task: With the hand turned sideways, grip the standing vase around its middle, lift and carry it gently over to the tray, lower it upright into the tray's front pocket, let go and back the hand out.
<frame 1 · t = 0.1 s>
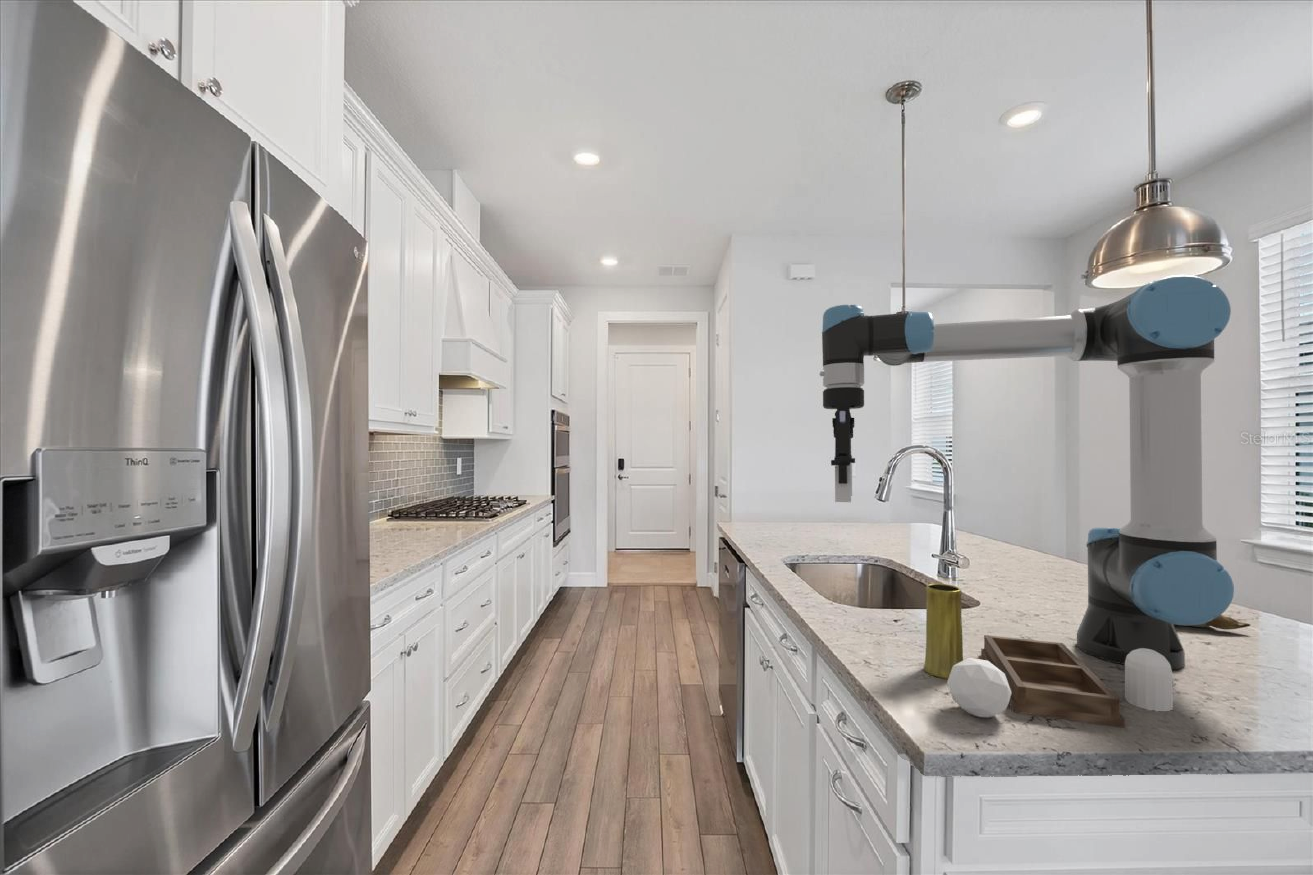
hand: (844, 498, 107), 28 cm above the countertop, fingers open, 13 cm apart
vase: (943, 673, 94), on the countertop
white dome-topped block: (1148, 704, 83), on the countertop
ball: (978, 715, 80), on the countertop
ceramic sculpture: (1191, 626, 119), on the countertop
tray: (1042, 685, 89), on the countertop
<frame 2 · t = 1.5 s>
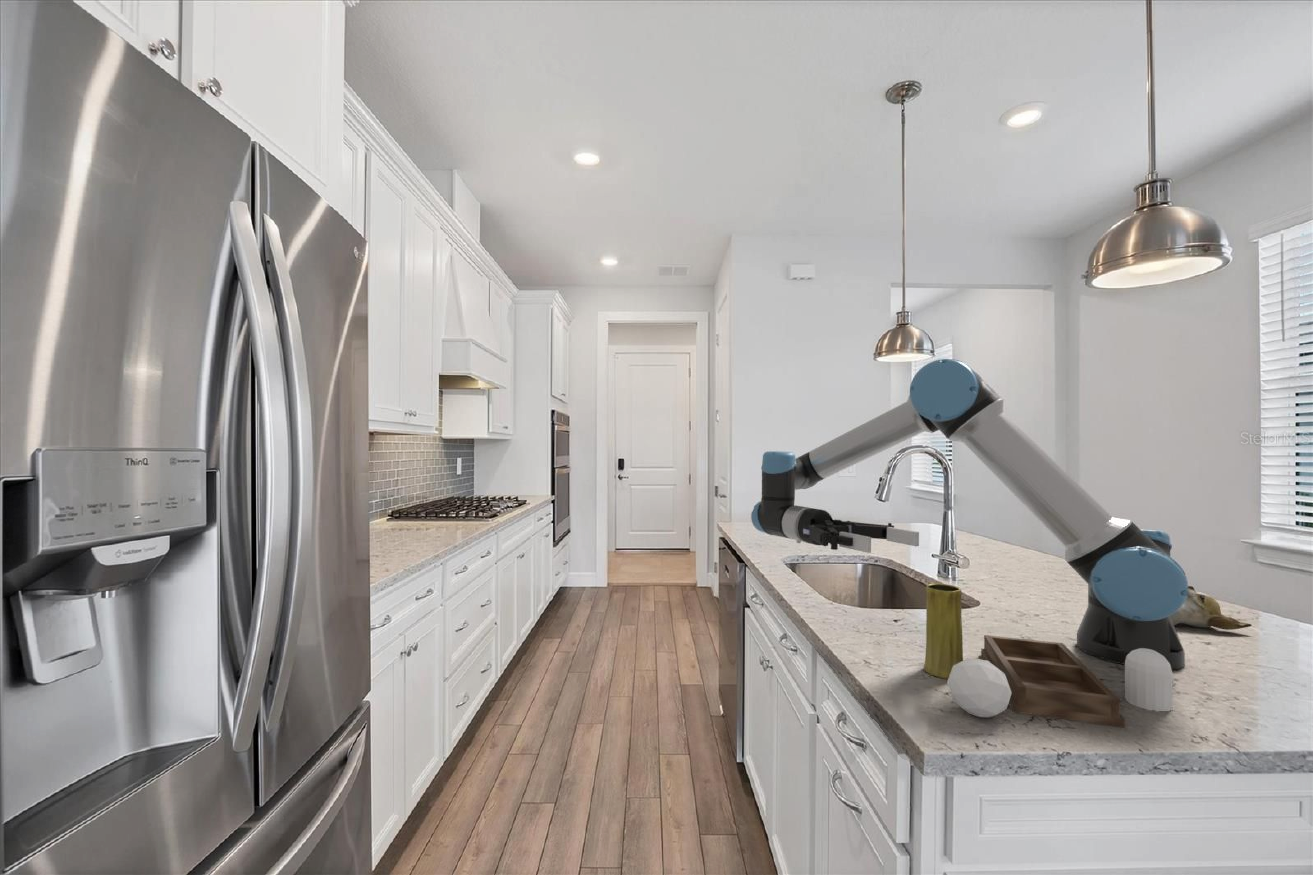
hand: (894, 542, 103), 20 cm above the countertop, fingers open, 13 cm apart
nothing on the countertop moved.
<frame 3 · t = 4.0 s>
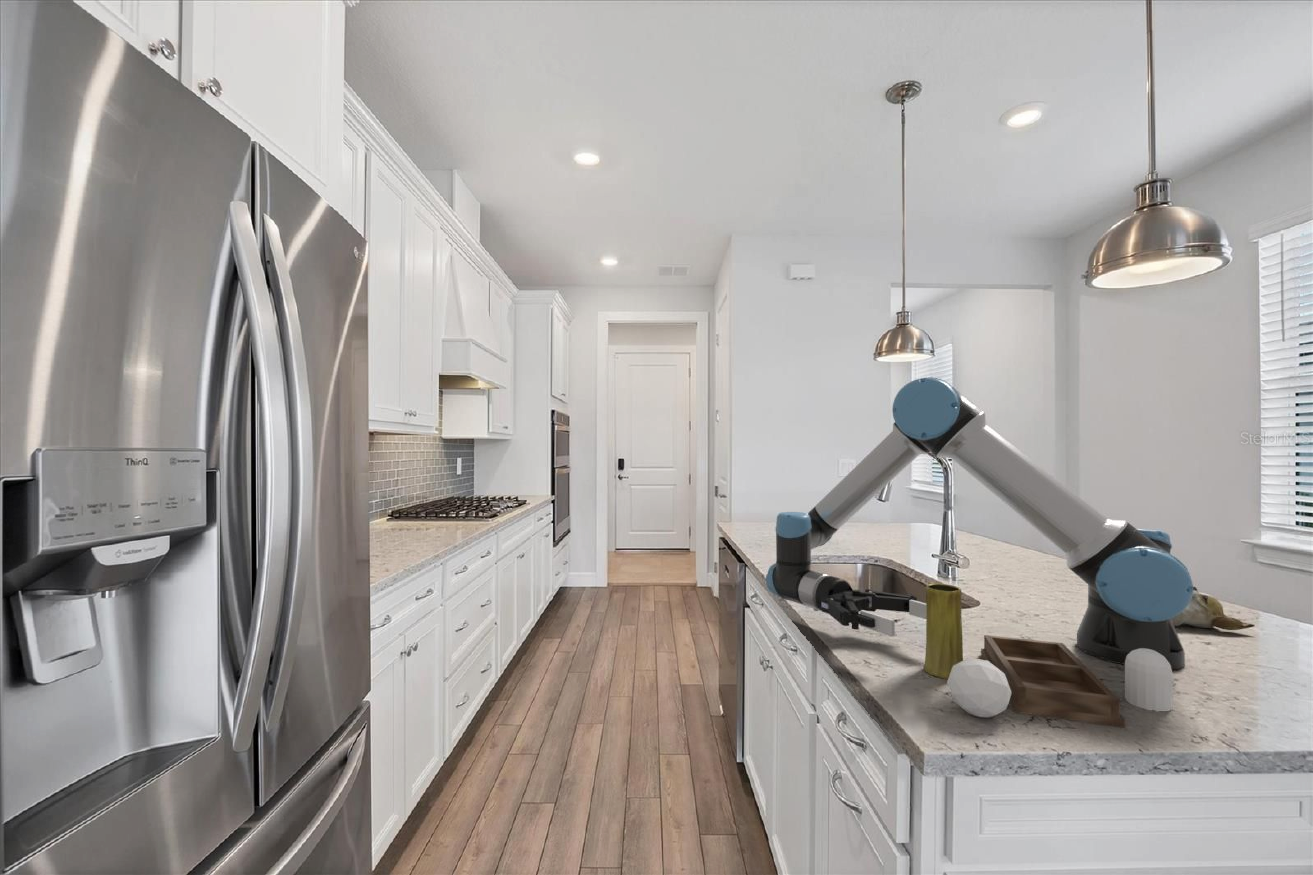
hand: (919, 622, 98), 7 cm above the countertop, fingers open, 13 cm apart
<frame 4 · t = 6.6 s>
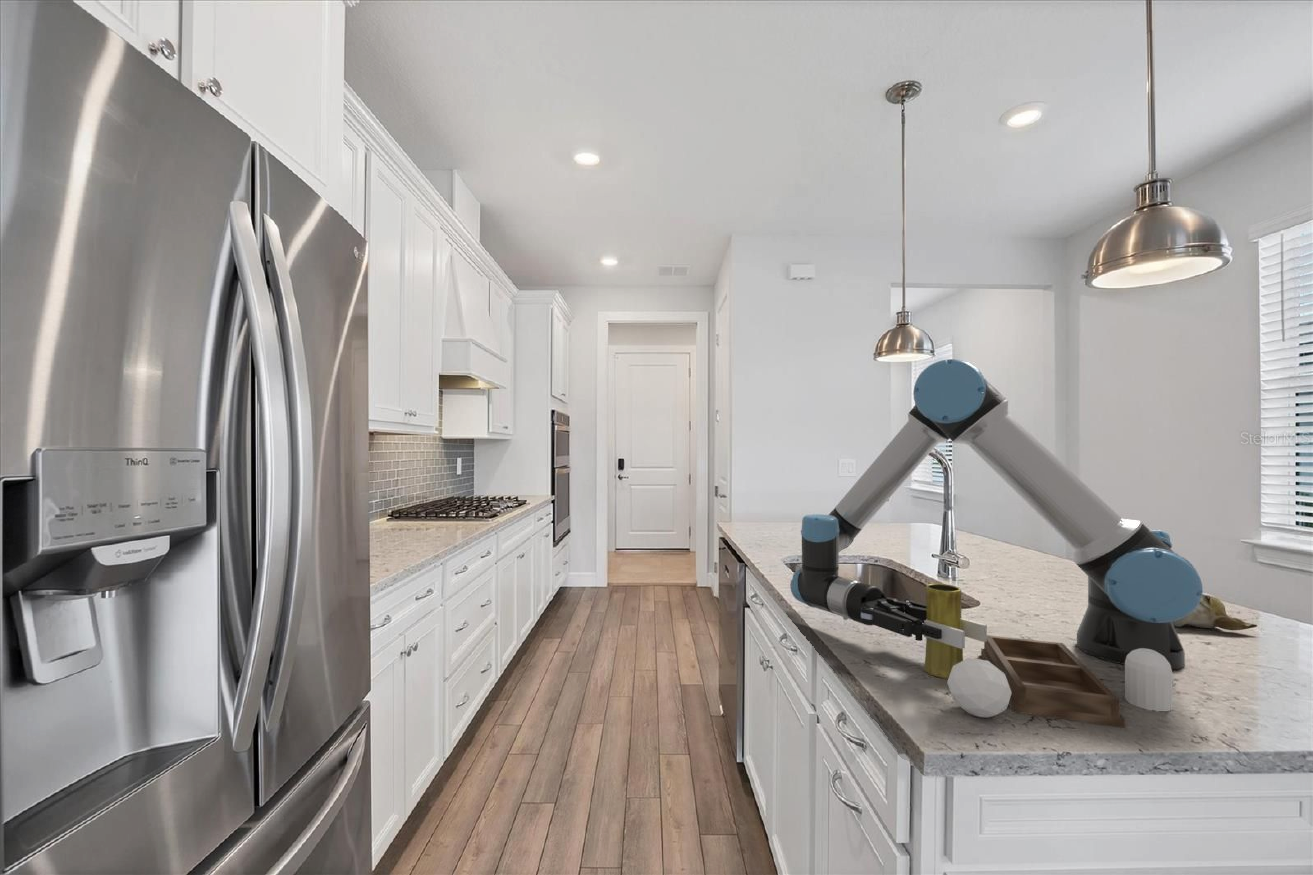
hand: (974, 636, 90), 8 cm above the countertop, fingers closed on vase, 5 cm apart
vase: (943, 673, 94), on the countertop, touching gripper
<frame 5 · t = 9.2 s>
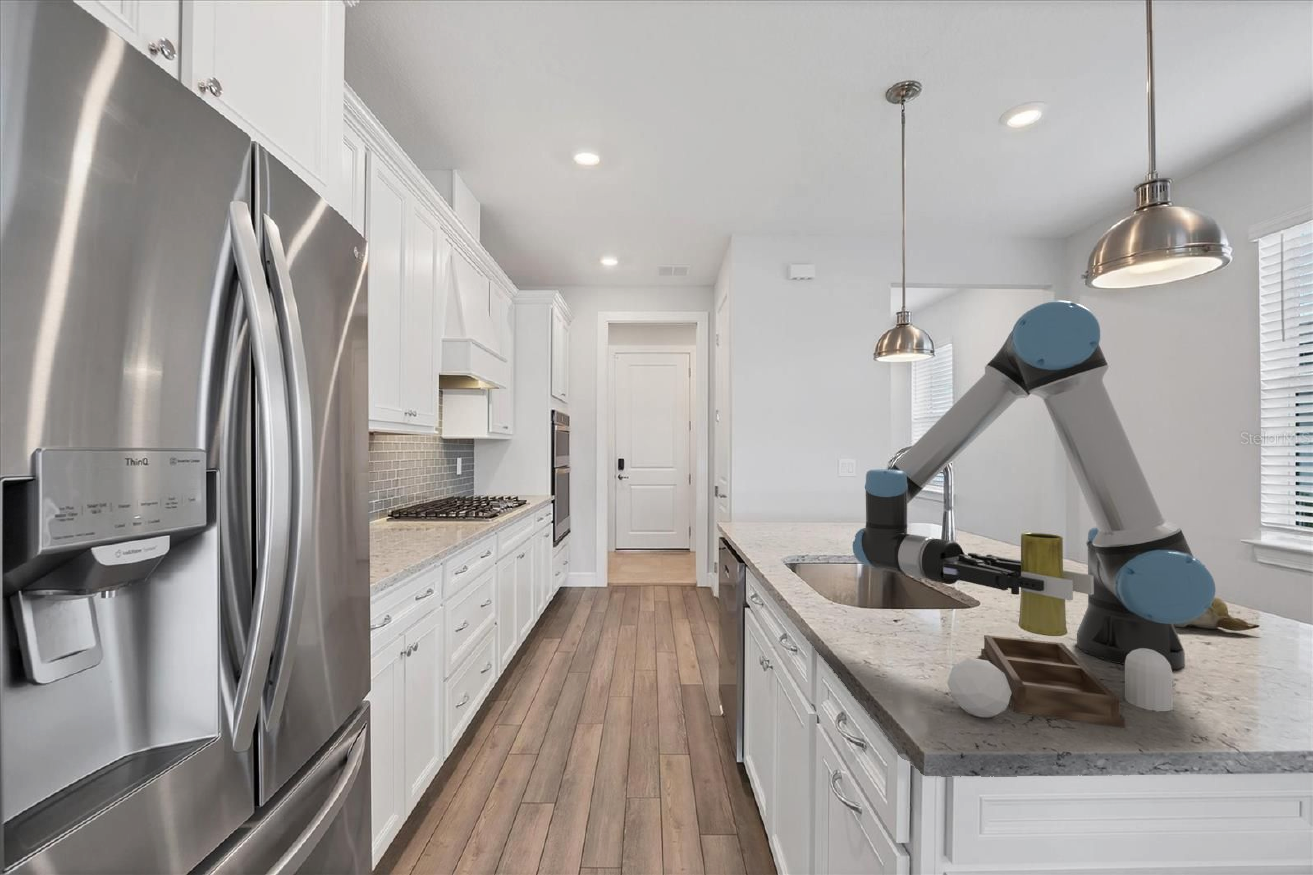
hand: (1081, 587, 80), 18 cm above the countertop, fingers closed on vase, 5 cm apart
vase: (1042, 631, 85), point 10 cm above the countertop, touching gripper
when the fingers open (10 cm above the countertop, at t = 11.9 s): vase drops 1 cm, resting on tray.
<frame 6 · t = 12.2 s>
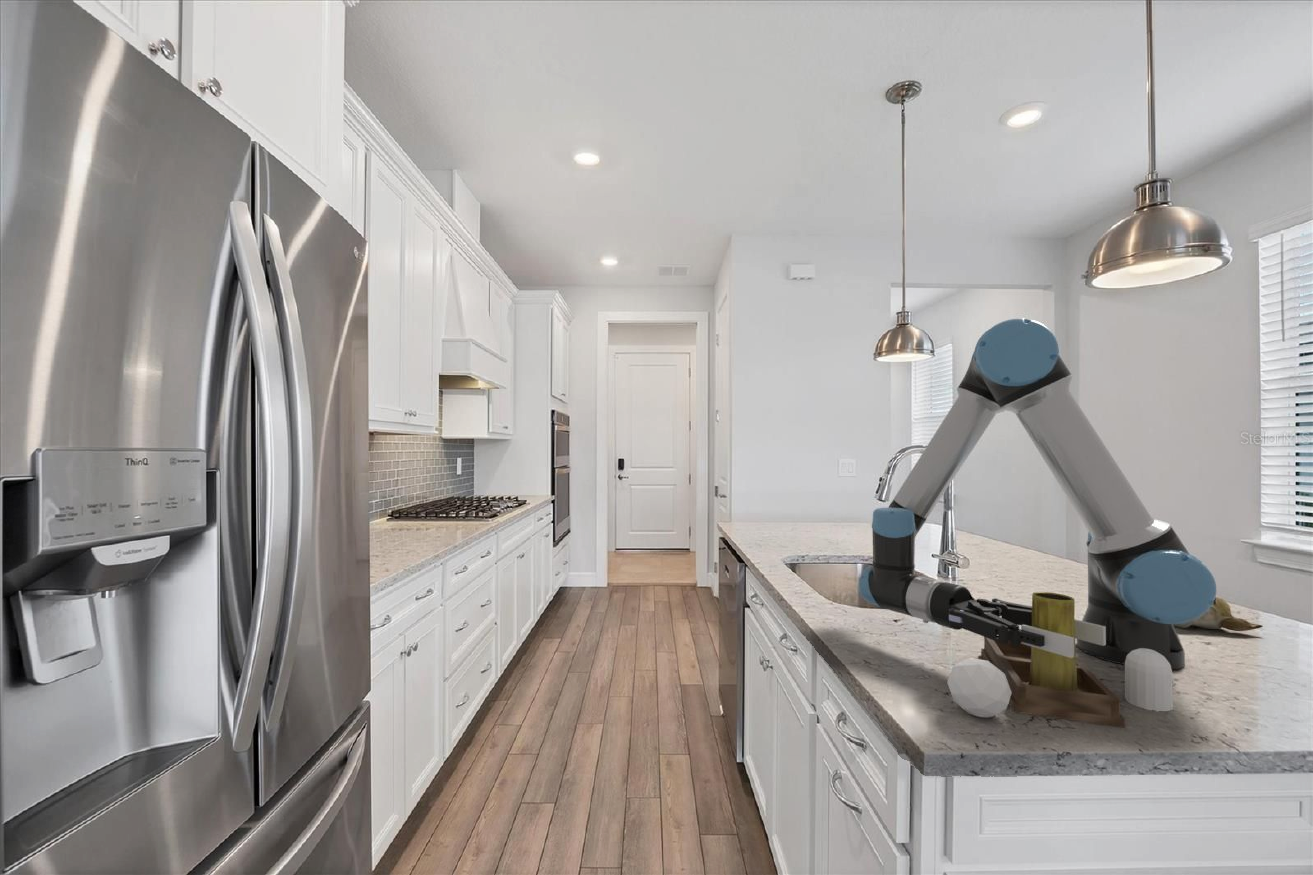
hand: (1088, 641, 80), 10 cm above the countertop, fingers open, 9 cm apart
vase: (1052, 693, 84), point 1 cm above the countertop, touching tray
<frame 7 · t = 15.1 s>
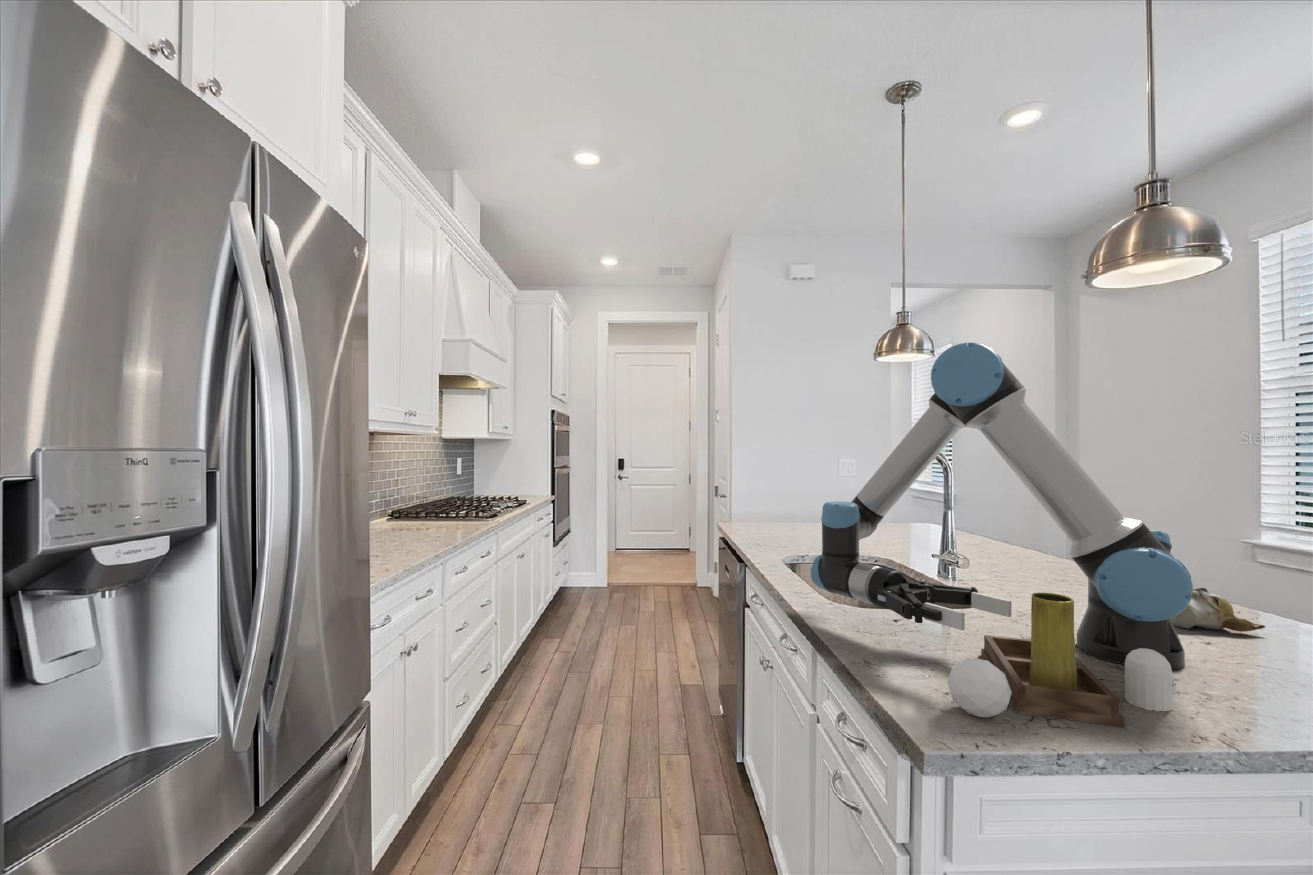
hand: (987, 615, 92), 10 cm above the countertop, fingers open, 13 cm apart
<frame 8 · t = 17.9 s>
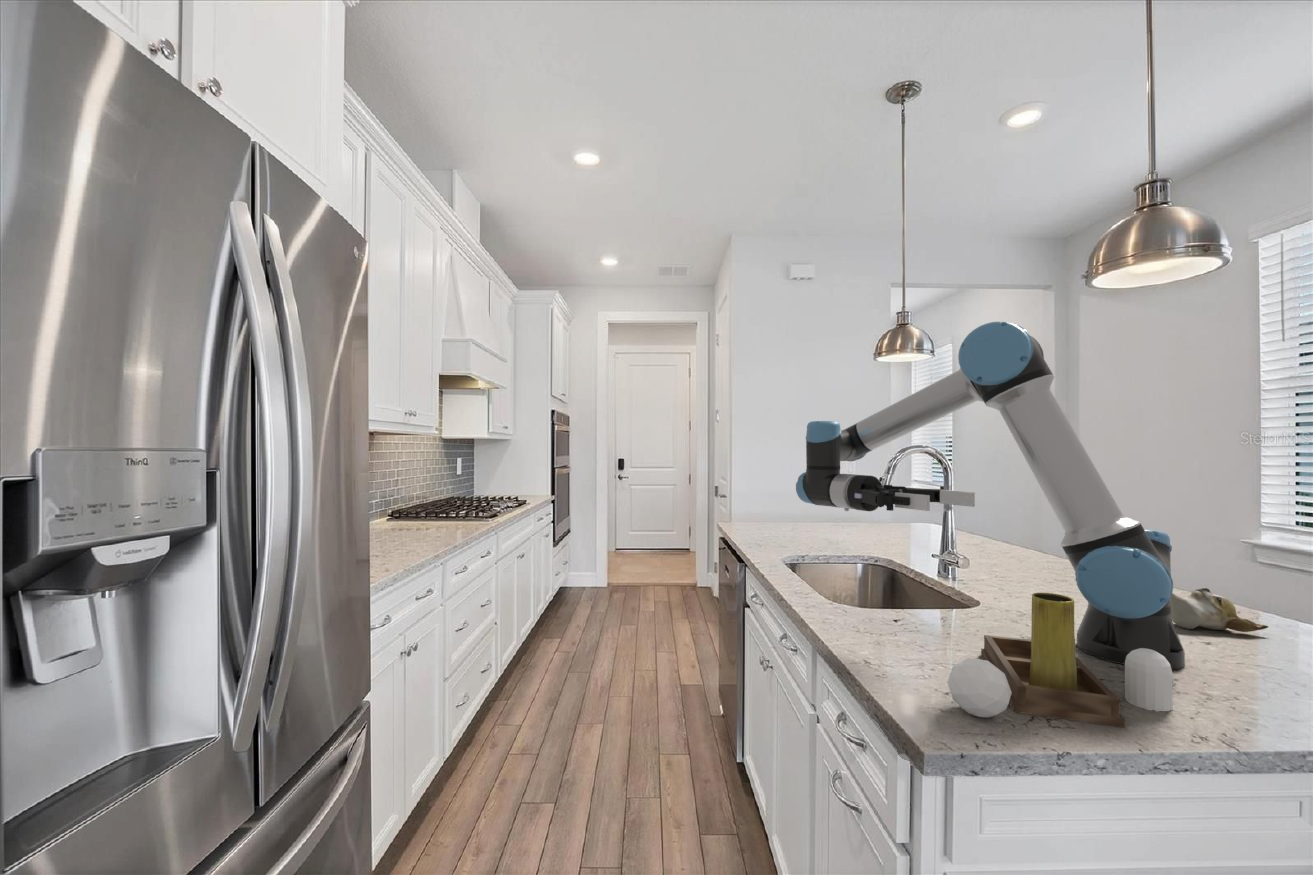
hand: (951, 501, 102), 28 cm above the countertop, fingers open, 13 cm apart
at the end: vase 0.1 cm from the target spot on the tray, point 1.0 cm above the tray's base; vase tilted 0°; the gripper is holding nothing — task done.
